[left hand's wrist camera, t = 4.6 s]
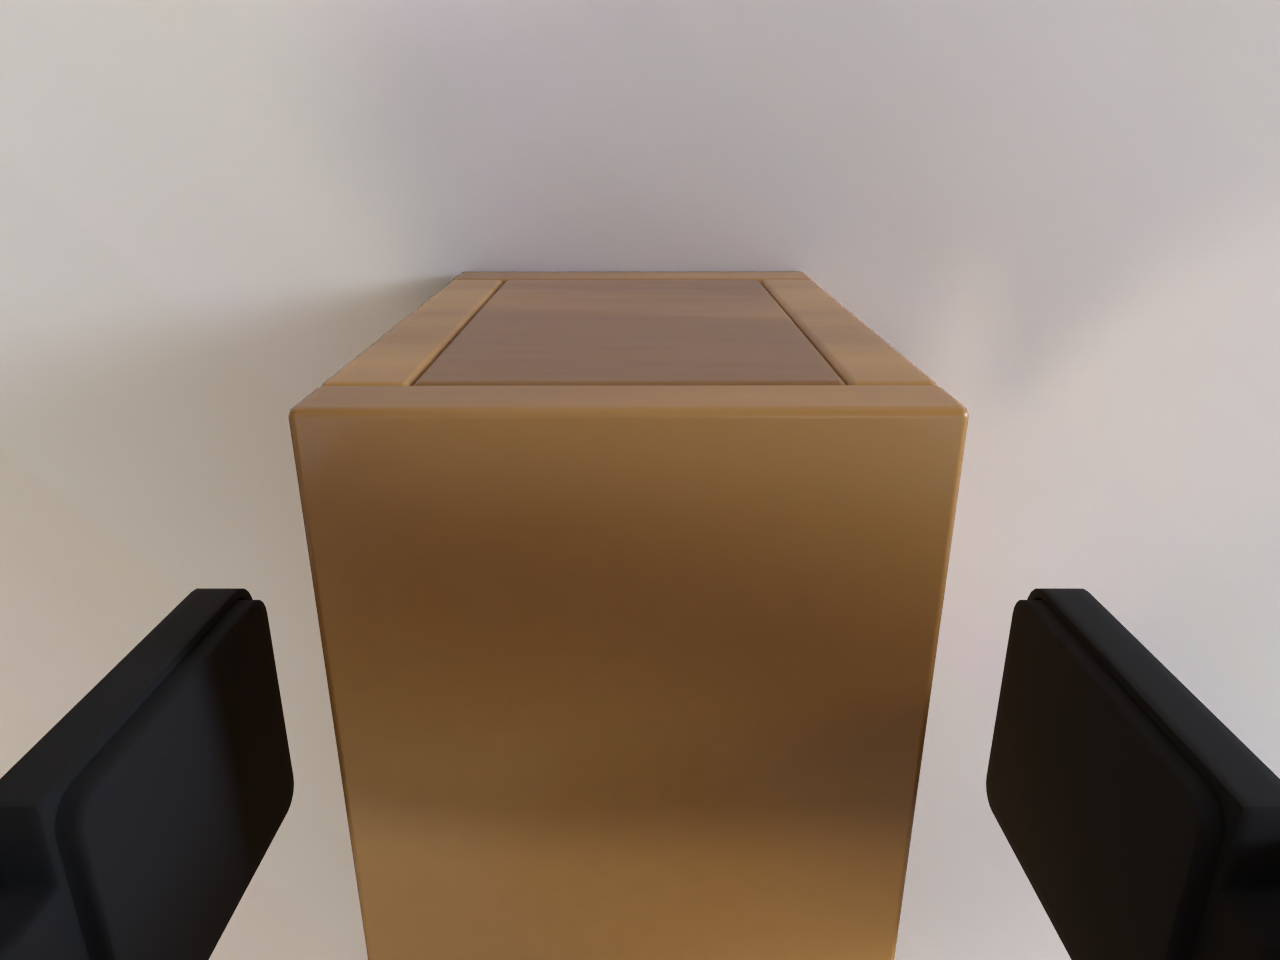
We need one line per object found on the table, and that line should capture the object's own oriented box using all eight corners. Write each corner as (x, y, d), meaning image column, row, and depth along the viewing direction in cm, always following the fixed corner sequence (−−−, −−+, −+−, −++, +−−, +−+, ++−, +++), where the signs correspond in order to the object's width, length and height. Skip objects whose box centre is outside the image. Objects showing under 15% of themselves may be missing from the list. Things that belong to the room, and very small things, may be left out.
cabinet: (752, 1065, 23) (813, 1557, 15) (517, 1066, 23) (453, 1559, 15) (803, 270, 16) (973, 408, 8) (461, 271, 16) (282, 409, 8)
